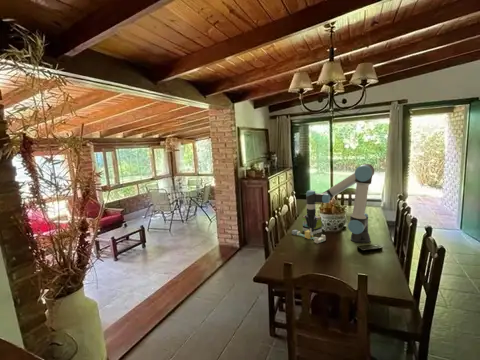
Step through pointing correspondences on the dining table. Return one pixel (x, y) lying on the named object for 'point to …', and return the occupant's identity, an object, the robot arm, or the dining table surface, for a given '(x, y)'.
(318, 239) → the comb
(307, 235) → the sleeve
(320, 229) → the tea box
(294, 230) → the connector
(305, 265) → the dining table surface
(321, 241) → the cord
